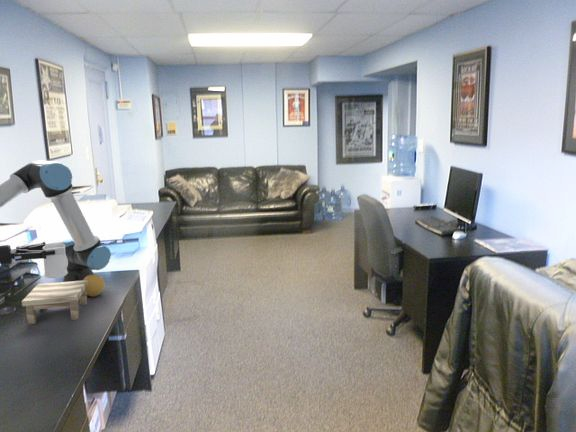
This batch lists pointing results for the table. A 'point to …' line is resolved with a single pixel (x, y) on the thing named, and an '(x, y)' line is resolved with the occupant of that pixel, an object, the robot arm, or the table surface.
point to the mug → (55, 263)
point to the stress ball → (94, 285)
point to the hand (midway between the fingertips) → (64, 247)
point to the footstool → (56, 298)
